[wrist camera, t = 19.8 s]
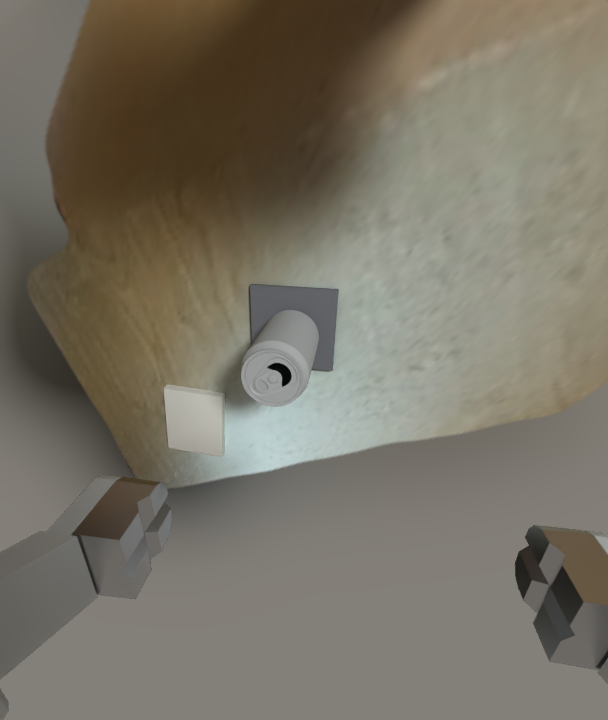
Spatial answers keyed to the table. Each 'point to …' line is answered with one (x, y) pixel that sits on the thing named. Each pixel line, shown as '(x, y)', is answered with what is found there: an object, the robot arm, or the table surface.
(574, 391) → the table surface
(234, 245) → the table surface
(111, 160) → the table surface
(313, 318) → the mat
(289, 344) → the beverage can
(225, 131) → the table surface
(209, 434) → the tile
